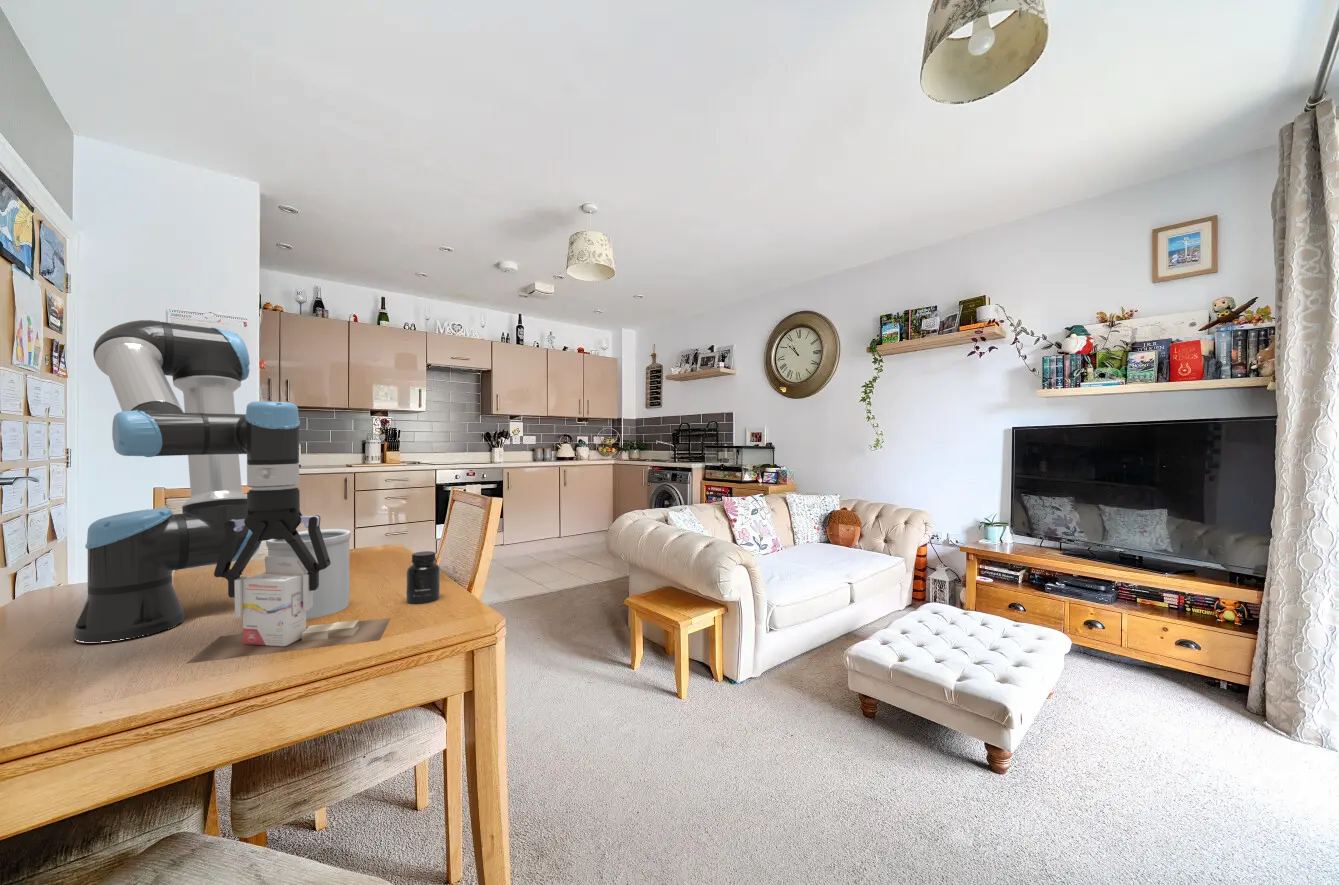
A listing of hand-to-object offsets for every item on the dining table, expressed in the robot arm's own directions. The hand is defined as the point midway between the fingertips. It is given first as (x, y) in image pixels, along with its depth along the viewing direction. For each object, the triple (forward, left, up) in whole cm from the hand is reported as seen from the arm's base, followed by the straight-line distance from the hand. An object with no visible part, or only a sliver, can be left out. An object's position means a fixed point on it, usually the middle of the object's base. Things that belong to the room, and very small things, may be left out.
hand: (275, 611), depth 93 cm
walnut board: (+4, 0, -7) cm, 8 cm away
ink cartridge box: (0, 0, -5) cm, 5 cm away
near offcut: (+7, 0, -5) cm, 9 cm away
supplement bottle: (+23, +17, -7) cm, 29 cm away
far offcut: (+11, 0, -5) cm, 12 cm away
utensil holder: (+1, +18, -7) cm, 20 cm away
